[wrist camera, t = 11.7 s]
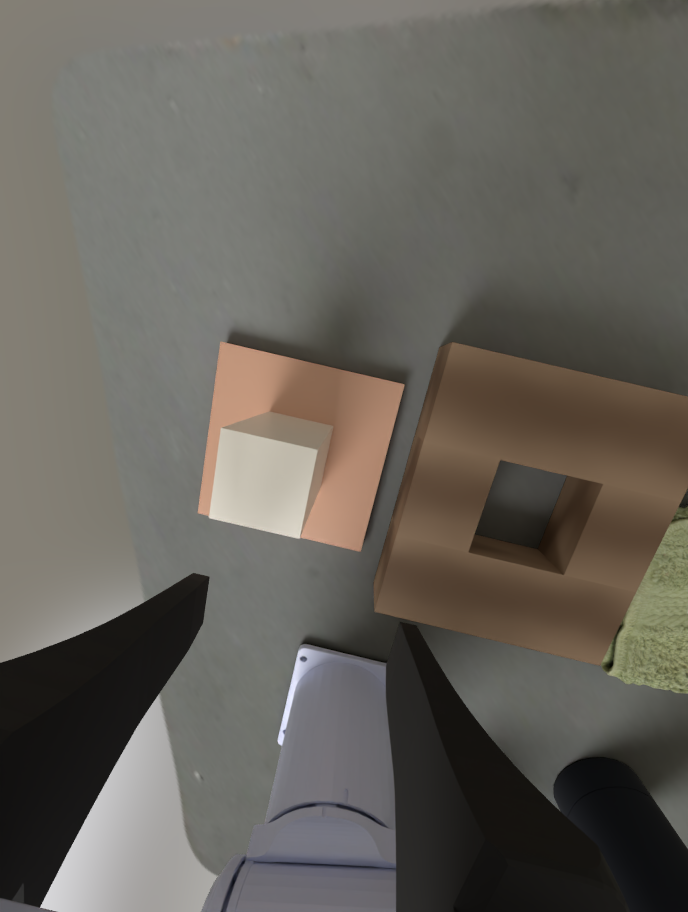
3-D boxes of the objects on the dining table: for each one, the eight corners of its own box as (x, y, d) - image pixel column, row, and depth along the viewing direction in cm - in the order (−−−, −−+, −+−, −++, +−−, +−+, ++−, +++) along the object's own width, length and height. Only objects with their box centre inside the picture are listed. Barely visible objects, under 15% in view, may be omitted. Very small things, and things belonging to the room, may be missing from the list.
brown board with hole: (570, 629, 23) (599, 665, 20) (373, 582, 23) (374, 611, 20) (674, 402, 20) (728, 406, 17) (439, 347, 20) (452, 342, 17)
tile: (360, 545, 23) (360, 551, 22) (203, 508, 23) (197, 512, 22) (403, 384, 20) (404, 384, 19) (226, 343, 20) (220, 341, 20)
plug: (320, 487, 21) (299, 538, 14) (258, 473, 21) (209, 517, 14) (333, 426, 20) (317, 450, 13) (269, 411, 20) (220, 427, 14)
